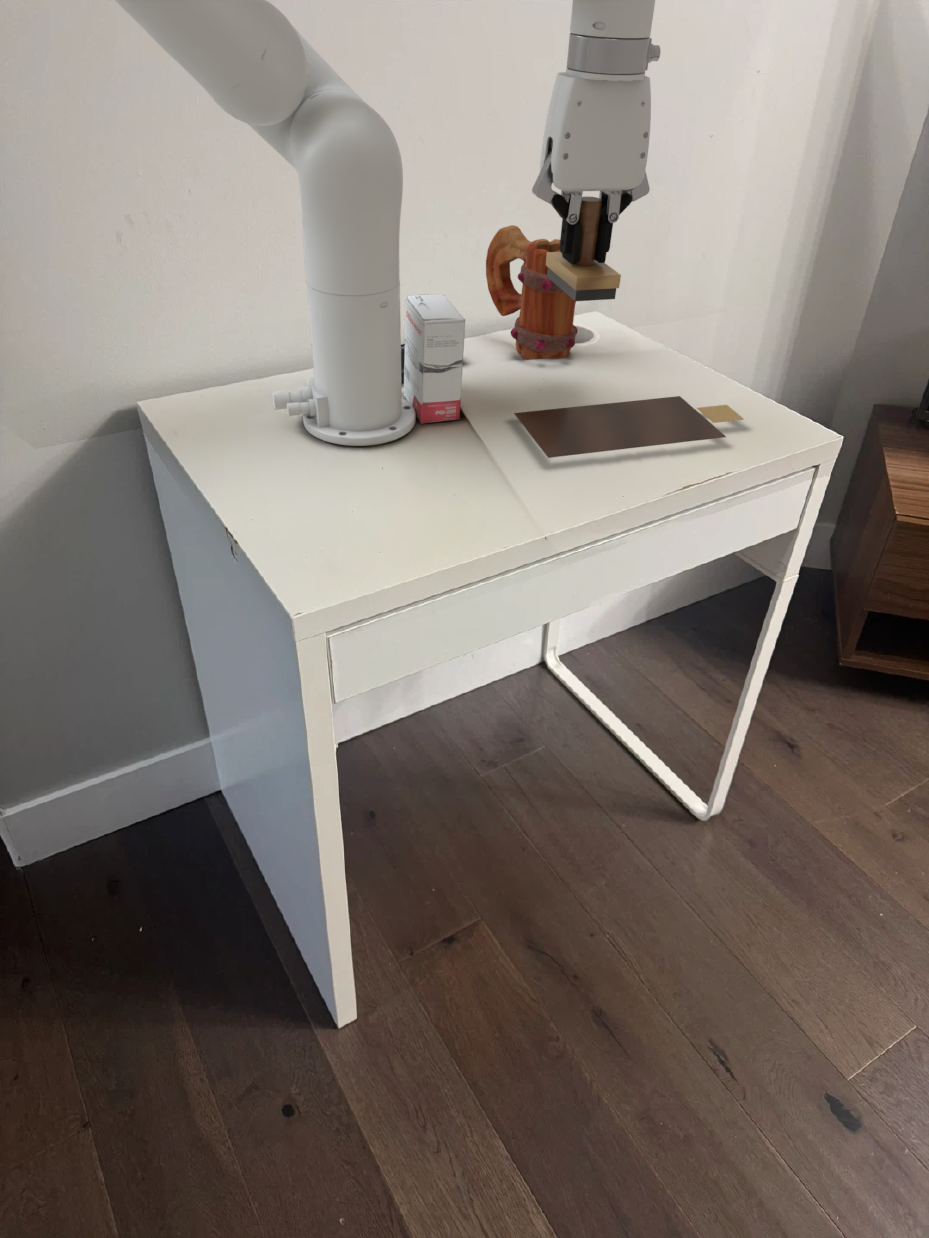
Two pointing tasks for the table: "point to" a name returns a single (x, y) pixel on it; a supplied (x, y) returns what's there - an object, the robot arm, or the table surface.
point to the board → (616, 426)
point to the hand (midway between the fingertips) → (583, 258)
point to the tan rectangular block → (720, 413)
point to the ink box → (433, 357)
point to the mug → (530, 295)
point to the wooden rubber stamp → (585, 262)
